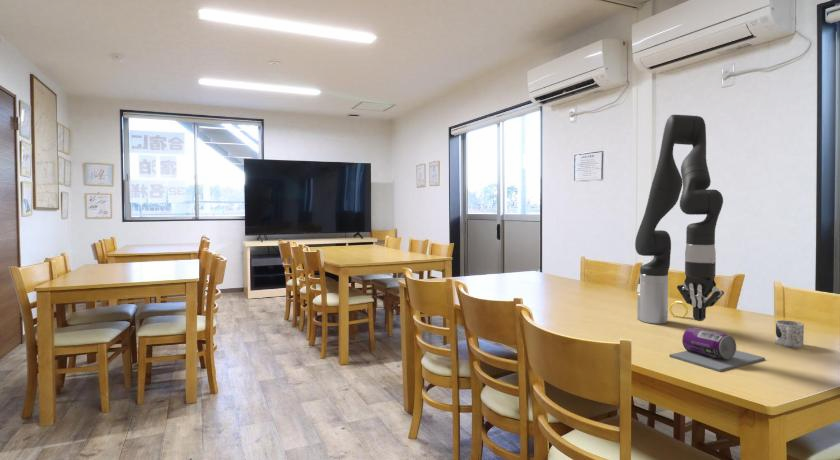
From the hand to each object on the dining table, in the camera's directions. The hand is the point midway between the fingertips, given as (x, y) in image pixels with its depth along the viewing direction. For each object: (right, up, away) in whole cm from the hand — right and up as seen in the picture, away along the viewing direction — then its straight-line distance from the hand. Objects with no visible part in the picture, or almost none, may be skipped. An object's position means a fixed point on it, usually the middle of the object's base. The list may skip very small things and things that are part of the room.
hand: (699, 320), depth 137 cm
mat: (+2, -10, -4) cm, 11 cm away
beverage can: (-1, -6, +3) cm, 7 cm away
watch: (+18, -7, +45) cm, 49 cm away
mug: (+31, -9, +7) cm, 33 cm away
